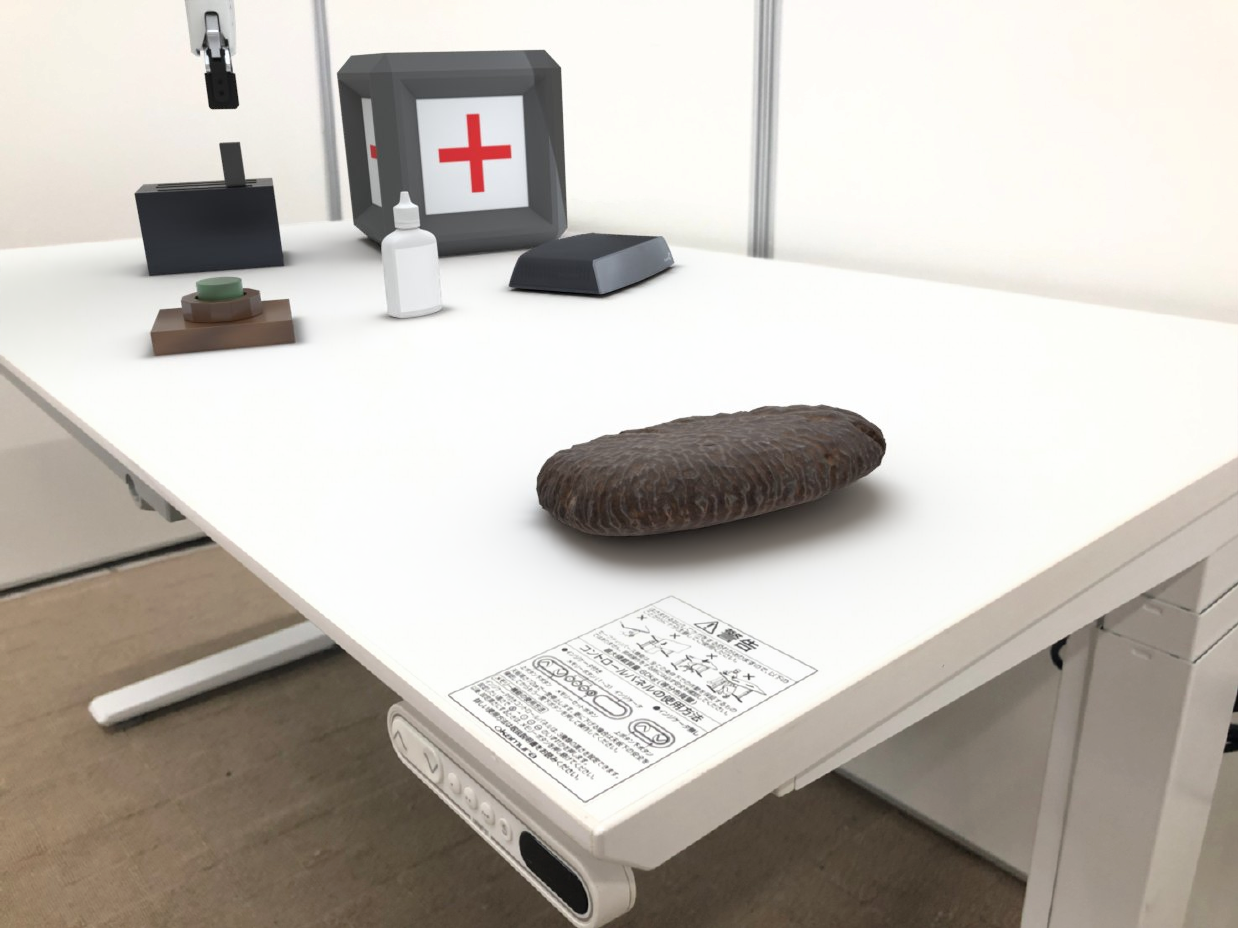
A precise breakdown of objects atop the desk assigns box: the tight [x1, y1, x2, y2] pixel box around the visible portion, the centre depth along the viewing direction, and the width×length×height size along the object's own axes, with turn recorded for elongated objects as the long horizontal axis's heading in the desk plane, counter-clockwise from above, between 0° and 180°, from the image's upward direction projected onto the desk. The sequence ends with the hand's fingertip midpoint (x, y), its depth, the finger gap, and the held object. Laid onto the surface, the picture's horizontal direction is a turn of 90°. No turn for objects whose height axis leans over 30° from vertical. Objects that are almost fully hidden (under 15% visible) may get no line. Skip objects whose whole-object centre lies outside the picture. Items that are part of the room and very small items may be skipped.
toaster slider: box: [218, 141, 246, 186], centre depth 130 cm, size 2×2×5 cm
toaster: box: [133, 177, 285, 277], centre depth 135 cm, size 16×11×10 cm
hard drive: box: [508, 232, 675, 295], centre depth 121 cm, size 13×19×4 cm
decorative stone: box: [535, 403, 887, 537], centre depth 59 cm, size 20×14×5 cm
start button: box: [195, 276, 244, 301], centre depth 98 cm, size 4×4×2 cm
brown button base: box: [149, 287, 296, 357], centre depth 99 cm, size 12×10×4 cm
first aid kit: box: [336, 49, 569, 257], centre depth 145 cm, size 25×25×25 cm
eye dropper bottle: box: [380, 192, 443, 319], centre depth 105 cm, size 4×6×12 cm
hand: (224, 108), depth 128 cm, fingers open, 9 cm apart
